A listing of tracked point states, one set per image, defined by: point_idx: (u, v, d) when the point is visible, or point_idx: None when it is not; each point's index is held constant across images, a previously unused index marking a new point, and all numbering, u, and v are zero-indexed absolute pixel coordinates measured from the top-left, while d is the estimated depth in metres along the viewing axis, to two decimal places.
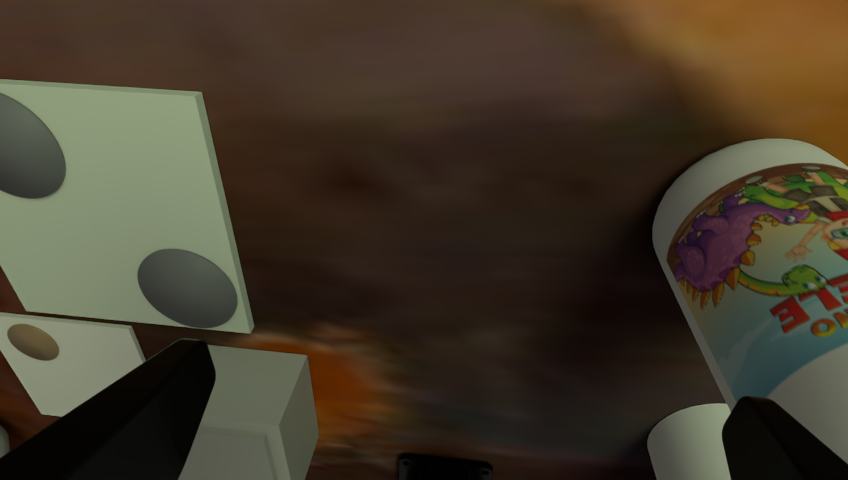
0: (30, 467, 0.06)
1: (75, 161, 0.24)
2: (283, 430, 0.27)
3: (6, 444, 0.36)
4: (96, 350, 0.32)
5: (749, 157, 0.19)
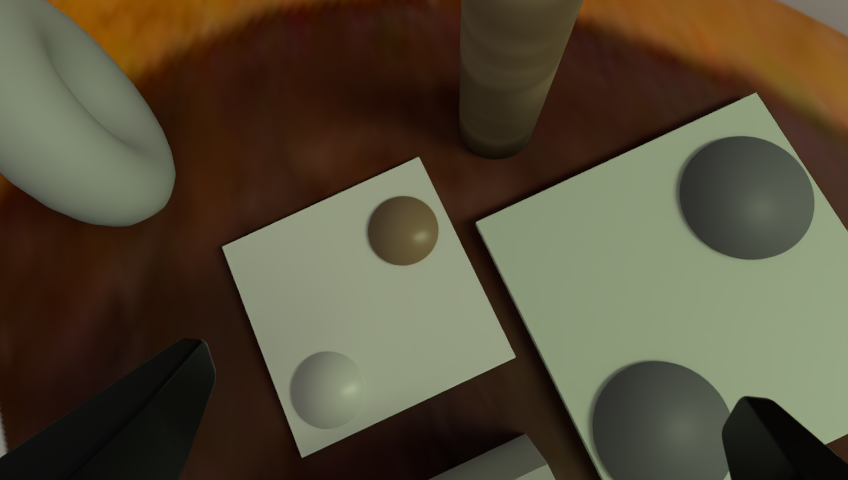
0: (30, 467, 0.06)
1: (773, 269, 0.21)
2: None
3: None
4: (439, 317, 0.22)
5: None
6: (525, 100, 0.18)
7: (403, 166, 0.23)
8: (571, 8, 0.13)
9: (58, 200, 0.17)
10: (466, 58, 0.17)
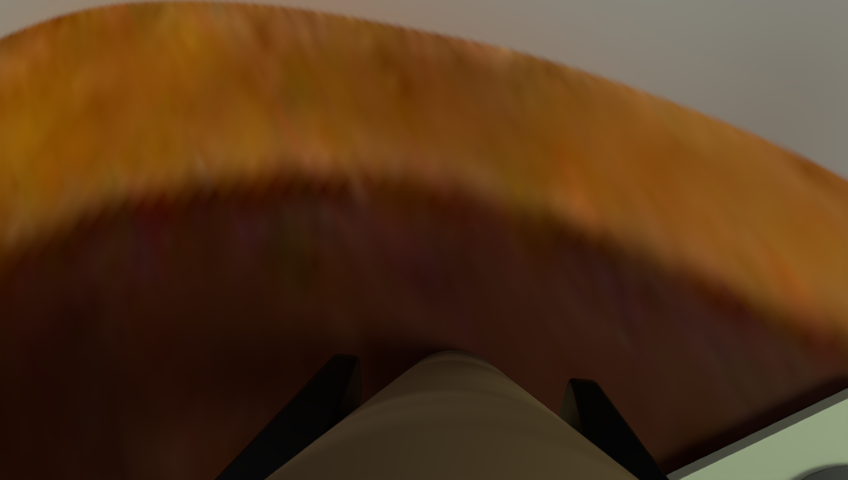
0: None
1: None
2: None
3: None
4: None
5: None
6: None
7: None
8: None
9: None
10: None
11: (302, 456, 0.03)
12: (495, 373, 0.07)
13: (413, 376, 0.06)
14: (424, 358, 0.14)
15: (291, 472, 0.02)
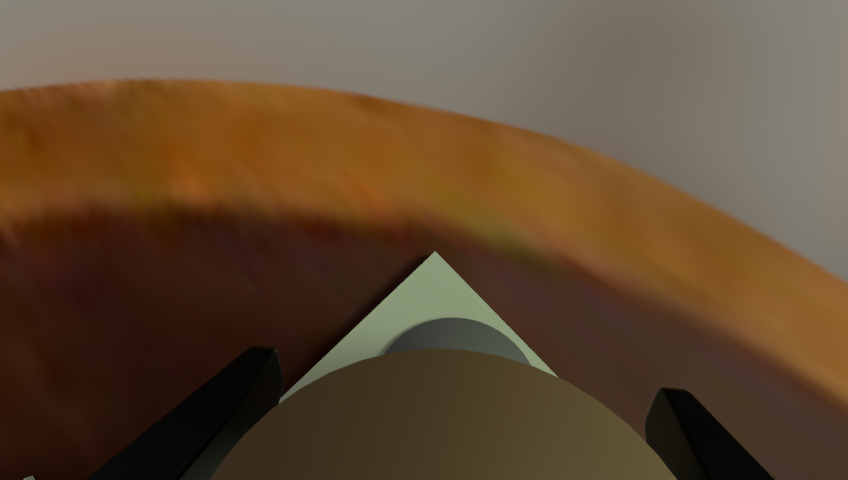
0: (129, 479, 0.06)
1: None
2: None
3: None
4: None
5: None
6: None
7: None
8: None
9: None
10: None
11: None
12: None
13: None
14: None
15: (327, 375, 0.03)
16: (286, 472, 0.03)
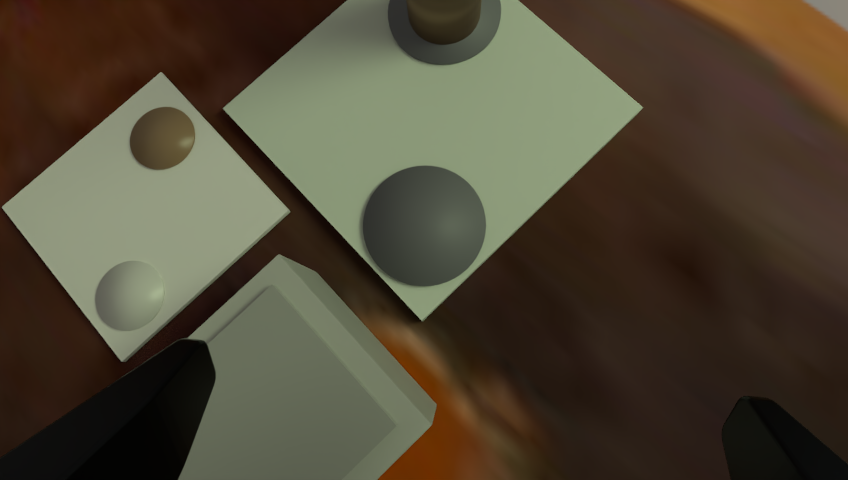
0: (31, 467, 0.06)
1: (482, 63, 0.24)
2: (411, 443, 0.17)
3: None
4: (213, 200, 0.24)
5: None
6: None
7: (149, 84, 0.25)
8: None
9: None
10: None
11: None
12: None
13: None
14: None
15: None
16: None
